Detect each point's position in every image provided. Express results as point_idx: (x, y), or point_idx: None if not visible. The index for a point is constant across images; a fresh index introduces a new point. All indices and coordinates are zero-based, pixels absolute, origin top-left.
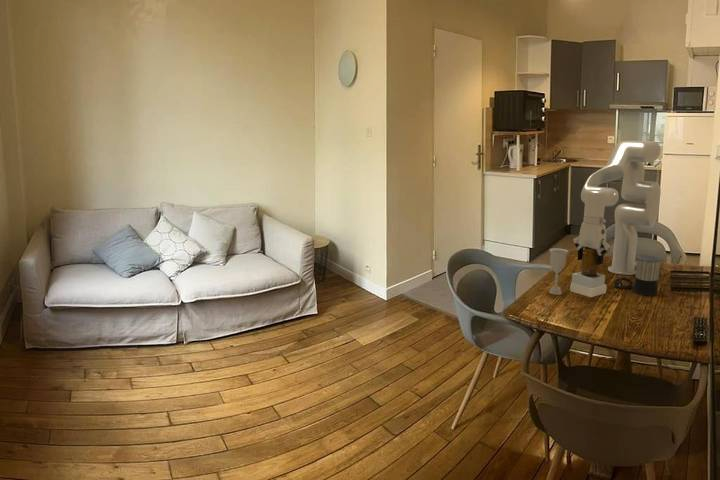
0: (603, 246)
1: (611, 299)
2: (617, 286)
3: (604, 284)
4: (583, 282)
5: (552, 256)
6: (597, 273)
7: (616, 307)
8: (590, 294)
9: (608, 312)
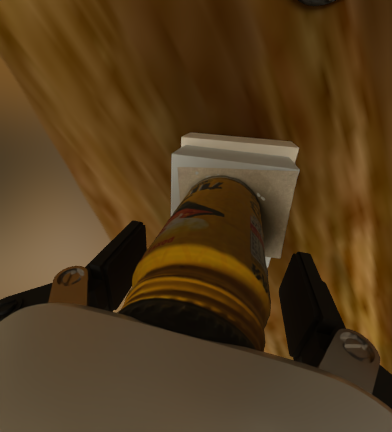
0: (361, 404)
1: (338, 202)
2: (316, 4)
3: (288, 152)
4: None
5: None
6: (249, 172)
7: (377, 264)
8: None
9: (363, 309)
